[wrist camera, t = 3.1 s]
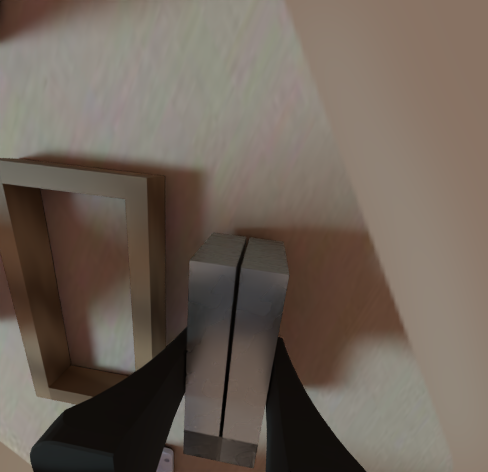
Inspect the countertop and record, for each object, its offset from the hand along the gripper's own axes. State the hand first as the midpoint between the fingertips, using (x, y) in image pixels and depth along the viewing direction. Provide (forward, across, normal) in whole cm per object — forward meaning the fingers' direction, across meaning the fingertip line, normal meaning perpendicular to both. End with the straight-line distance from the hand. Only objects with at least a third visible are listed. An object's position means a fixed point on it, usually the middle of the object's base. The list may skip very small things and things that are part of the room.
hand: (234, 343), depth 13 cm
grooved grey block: (+2, 0, 0) cm, 2 cm away
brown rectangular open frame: (+2, +10, 0) cm, 10 cm away
